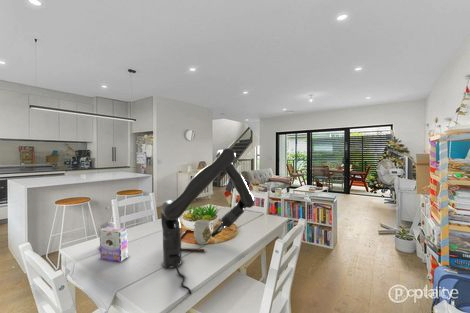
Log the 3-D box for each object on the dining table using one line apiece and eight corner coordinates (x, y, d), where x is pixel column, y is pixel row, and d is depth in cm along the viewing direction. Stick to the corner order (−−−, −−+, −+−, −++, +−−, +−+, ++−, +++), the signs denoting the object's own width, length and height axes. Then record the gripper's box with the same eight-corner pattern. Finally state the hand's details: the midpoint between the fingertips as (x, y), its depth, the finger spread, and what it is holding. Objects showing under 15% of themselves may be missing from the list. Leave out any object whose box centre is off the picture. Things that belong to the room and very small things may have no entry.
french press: (109, 251, 129) (108, 209, 128) (92, 249, 131) (91, 208, 130) (121, 243, 139) (120, 205, 137) (105, 242, 141) (104, 204, 140)
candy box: (128, 257, 122) (127, 228, 121) (120, 262, 116) (119, 232, 116) (108, 254, 126) (107, 225, 125) (99, 259, 120) (98, 229, 119)
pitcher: (219, 239, 145) (219, 219, 144) (198, 249, 131) (198, 226, 130) (208, 235, 152) (207, 215, 151) (187, 244, 138) (186, 222, 137)
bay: (215, 232, 155) (215, 230, 155) (204, 252, 127) (204, 250, 127) (186, 231, 159) (186, 229, 159) (168, 249, 130) (168, 247, 130)
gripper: (228, 210, 145) (210, 227, 148) (223, 217, 132) (204, 235, 135) (236, 218, 145) (218, 235, 147) (232, 226, 132) (213, 244, 134)
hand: (212, 235), depth 141 cm, fingers closed
